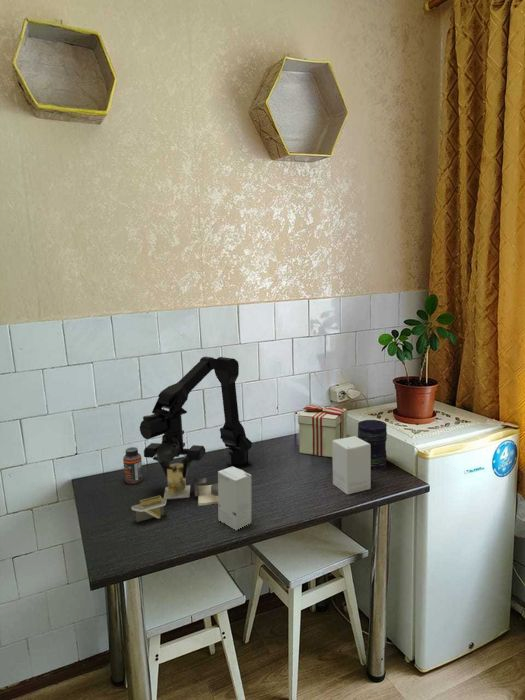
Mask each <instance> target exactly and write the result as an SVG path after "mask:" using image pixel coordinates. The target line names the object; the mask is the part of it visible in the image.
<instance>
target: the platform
mask: <svg viewBox="0 0 525 700" xmlns="http://www.w3.org/2000/svg"><path fill="white" fill-rule="evenodd" d="M167 500H168V499H166V498H164V497H162V496H161V495H157V496H155V497H154V496H153V497H149V498H145V499H141V500H139V504H135V505H132V506H131V510H132V511H134V512H135V516H136V523H139V522H142V521H146V520H150V519H153V518H155V519H157V520H158V519H161V516H164V515H165V512H164V511H165V510H164V506H166V504H167Z"/></svg>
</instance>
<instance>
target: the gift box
mask: <svg viewBox="0 0 525 700" xmlns="http://www.w3.org/2000/svg"><path fill="white" fill-rule="evenodd" d="M302 409H303V410H304V411H303V412H302V413H299V415H298V416H297V424H298V434H299V435H298V438H299V453H300V454H304V455H305V454H306V455H310V456H311V455H312V456H319V457H326V458H327V457H328V458H333V457H332V441H333V440H337V439H342V438H347V437H348V436H347V435H348V434H347V433H348V432H347V431H348V430H347V429H348V427H347V425H348V424H347V418H348V409H347V408H343V407H339V406H331V407H328V406H320V405H317V404H314V403H313V404H312V403H311V404H306V405H305V406H304V407H303V408H302Z"/></svg>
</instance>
